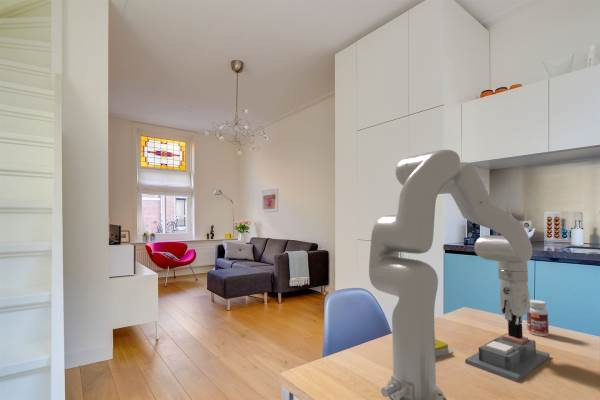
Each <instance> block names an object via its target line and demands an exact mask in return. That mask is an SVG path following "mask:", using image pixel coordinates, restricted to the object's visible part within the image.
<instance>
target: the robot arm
mask: <svg viewBox="0 0 600 400" xmlns="http://www.w3.org/2000/svg"><path fill="white" fill-rule="evenodd" d="M460 158H461V157H460V156H459V153H458V152H456V151H454V150H451V149H438V150H434V151H429V152H425V153H421V154H416V155H413V156H408V157H405V158H403V159H401V160H400V161H399V162H398V163H397V165H396V168H395V176H396V177H395V178H396V180H397V181H398V182H399V184H401V185H402V187H401V190H400V193H399V200H398V208H397V212H396V213H397V214H388V215H385V216H384V215H383V216H381V217H380V218H378V219H377V221H375V224H374V225H373V227H372V231H371V236H370V237H371V238H370V248H369V261H368V262H369V263H368V276H369V277H368V278H369V281H370V283H371V285H372V286H373V288H375V289H376V290H377V291H379V292H383V293H384V294H389V295H392V296H395V297H398V301H397V303H396V305H395V306H394V308H393V311H392V316H391V331H392V332H391V333H392V334H391V335H392V337H391V338H392V339H391V340H392V375H391V377H390V380H388V382H387V384H386V386H383V387H381V389H380V390H381V391H380V393H381V396H383V397H384V398H388V397H389V398H390V399H392V400H445V399H444V392H443V391H442V389H441V388H440V387H439V386H437V378H436V377H437V375H436V374H437V372H436V368H437V367H436V358H435V339H436V335H435V334H436V332H435V305H436V300H437V299H436V298H437V292H438V287H439V278H438V274H437V271H436V270H435V268H434V267H433V266H432V265H430V264H429V263H427V262H424V261H422V260H419V259H414V258H407V257H400V253H406V254H416V255H417V254H418V255H420V254H425V253H428V252H429V251H430V249H431V248H432V246H433V241H434V230H435V217H436V215H435V214H436V213H435V212H436V211H435V210H436V202H437V198H438V195H446V194H450V195H451V196H452V198H453V201H454V203H455V204H456V206H457V208H458V210H459V212H460V214H461V216H462V217H463V218H464V219H465V220H467V221H469V222H471V223H474V224H476V225H478V226H480V227H484V228H487V229H489V230H491V231H493V232H496V233H498V234H499V235H492V234H491V235H489V234H488V235H482V236H480V237H478V238H477V239H476V241H475V243H474V245H473V246H474V247H473V248H474V252H475V254H476V255H477V256H478V257H479V258H480V259H482V260H486V261H491V262H492V261H494V262H497V268H498V270H497V271H498V273H497V274H498V281H500V285H499V287H500V290H499V306H500V307H499V308H500V312H501V313H502V314H504V319H505V320H506V322H507V330H508V332H507V333H508V334H509V336H512V337H516V338H519V339H520V338H522V337H523V336H524V335H523V316H525V315H527V313H528V312H529V311H530V300H531V299H530V292H529V291H530V290H529V287H528V286H529V285H528V282H529V272H528V270H529V269H528V262H529V261H530V260H531V259H532V256H533V246H532V242H531V240H530V237H529V235H528V233H527V231H526V229H525V227H524V225H523V223H521V222H520V221H519V220H518V219H517V218H515V217H514V216H513V215H512V214H510V213H509V212H507V211H505V210H504V209H502V208H501V207H499V206H497V205H495V203H494V202H493V200H492V198H491V196H490V194H489V192H488V190H487V188H486V186H485V183H484V182H483V180H482V178H481V176H480V174H479V172H478V169H477V168H476V167H475V165H473V164H472V163H470V162H465V161H461V159H460Z"/></svg>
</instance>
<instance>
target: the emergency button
mask: <svg viewBox="0 0 600 400" xmlns="http://www.w3.org/2000/svg"><path fill="white" fill-rule="evenodd" d="M448 345H449V344H448V343H447V342H444V341H441V340H438V339H436V338H435V359H437V358H440V357H444V356H446V355H450V354H453V353H454V351H453V350H452V349H449V346H448Z"/></svg>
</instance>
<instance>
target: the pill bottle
mask: <svg viewBox="0 0 600 400" xmlns="http://www.w3.org/2000/svg"><path fill="white" fill-rule="evenodd" d="M529 300H530V311H529V312H528V313H526V328H527V333H529V334H531V335H534V336H539V337H547V336H549V335H550V333H549V312H548V310H547V309H546V308H547V304H546V302H545V301H544V300H540V299H529Z"/></svg>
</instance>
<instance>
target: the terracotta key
mask: <svg viewBox="0 0 600 400" xmlns="http://www.w3.org/2000/svg"><path fill="white" fill-rule="evenodd" d="M506 333H507V334H506ZM506 333H505V334H506V335H504V334H503V335H504V336H503V340H506V341H509V342H513V343H516V344H520V345H524V344H525V343H527V342H528V339H529V337H527V336H524V335H523V337H522V338H520V339H519V338H516V337H512V336H509V334H508V332H506Z"/></svg>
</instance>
